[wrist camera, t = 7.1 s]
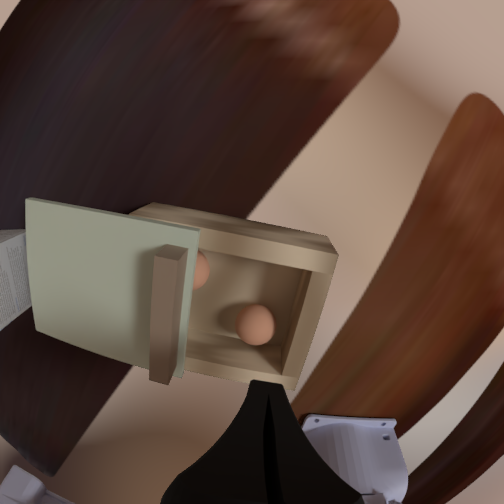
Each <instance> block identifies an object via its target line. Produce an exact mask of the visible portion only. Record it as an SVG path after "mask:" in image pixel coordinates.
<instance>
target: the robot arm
mask: <svg viewBox="0 0 504 504" xmlns="http://www.w3.org/2000/svg"><path fill="white" fill-rule="evenodd" d="M315 419H317V420H315ZM395 425H396V420H395V419H380V418H354V417H338V416H325V415H315V414H310V415H308V416H306V418H305V420H304V422H303V424H302V427H301V426H300V424H299V423H298V421H297V418H296V416H295V414H294V412H293V410H292V408H291V405H290V403H289V401H288V398H287V395H286V393H285V390H284V386H283V385H282V384H279V383H273V382H267V381H261V380H255V379H253V380H251V381H250V385H249V388H248V392H247V396H246V398H245V400H244V402H243V404H242V406H241V408H240V410H239V412H238V414H237V415H236V417H235V418H234V420H233V421H232V423H231V424H230V426H229V427H228V428H227V430H226V431H225V432H224V434H223V435H222V436H221V437H220V438H219V439H218V441H217V442H216V443H215V444H214V445H213V446H212V447H211V448H210V449H209V450H208V451H207V452H206V453H205V454H204V455H203V456H202V457H201V458H199V459H198V460H197V461H196V462H195V463H194V464H193V465H191V466H190V467H188V468H187V469H186V470H184V471H183V472H182V473H180V474H179V475H178V476H177V477H176V478H175V479H174V481H173V482H172V483H171V485H170V486H169V487H168V488H167V490H166V491H165V493H164V495H163V497H162V499H161V503H160V504H402V503H401V501H402V500H403V498H404V496H405V494H406V491H407V485H408V472H407V468H406V464H405V461H404V458H403V455H402V452H401V449H400V446H399V443H398V440H397V437H396V434H395V431H394V429H393V428H394V426H395ZM0 504H75V503H73V502H71V501H69V500H67V499H65V498H63V497H60V496H59V495H57V494H55V493H53V492H51V491H49V490H47V489H46V487H45V485H44V484H43V483H42V481H41V480H39V479H38V478H37V477H35V476H33V475H32V474H30V473H28V472H27V471H25V470H23V469H21V468H20V467H18V466H17V465H13V467H12V468H11V470H10V471H9V473H8V474H7V476H6V477H5V479H4V480H3V482H2V484H1V485H0Z"/></svg>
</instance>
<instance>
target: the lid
mask: <svg viewBox="0 0 504 504" xmlns="http://www.w3.org/2000/svg"><path fill="white" fill-rule="evenodd" d="M200 231H201V229H199V228H194V227H189V226H183V225H178V224H173V223H168V222H163V221H157V220H152V219H147V218H141V217H136V216H131V215H125V214H120V213H115V212H109V211H104V210H98V209H93V208H87V207H82V206H76V205H71V204H65V203H60V202H54V201H48V200H43V199H37V198H28V199H26V248H27V263H28V275H29V285H30V293H31V301H32V308H33V315H34V321H35V327H36V330H37V331H39V332H42V333H44V334H47V335H49V336H52V337H54V338H57V339H59V340H62V341H64V342H67V343H69V344H72V345H75V346H78V347H80V348H83V349H86V350H89V351H91V352H94V353H97V354H100V355H103V356H106V357H109V358H112V359H115V360H119V361H122V362H125V363H128V364H132V365H135V366H138V367H142V368H145V369H149V380H151V381H155V382H158V383H162V384H166V385H169V382H170V380H171V378H172V376H175V377H179V378H182V376H183V373H184V364H185V354H186V344H187V334H188V325H189V316H190V307H191V299H192V290H193V282H194V275H195V267H196V260H197V252H198V245H199V238H200Z"/></svg>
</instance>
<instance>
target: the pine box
mask: <svg viewBox="0 0 504 504" xmlns="http://www.w3.org/2000/svg"><path fill="white" fill-rule="evenodd" d="M129 215H131V216H136V217H141V218H147V219H152V220H157V221H163V222H168V223H173V224H178V225H183V226H189V227H194V228H199V229H201V231H200V238H199V245H198V250H199V251H200V252H202V253H203V254H204V255H205V257H206V258H207V260H208V262H209V266H210V273H209V277H208V279H207V281H206V283H205V284H204V285H203V286H202V287H200V288H199V289H197V290H194V291H192V299H191V307H190V316H189V325H188V334H187V344H186V354H185V364H184V370H187V371H192V372H196V373H200V374H204V375H209V376H213V377H218V378H223V379H228V380H233V381H238V382H244V383H249V384H250V381H251V380H253V379H255V380H261V381H267V382H273V383H279V384H282V385H283V386H284V389H286V390H295V388H296V385H297V382H298V380H299V377H300V374H301V371H302V369H303V366H304V363H305V360H306V357H307V354H308V352H309V348H310V346H311V343H312V340H313V337H314V334H315V331H316V328H317V325H318V322H319V319H320V315H321V312H322V309H323V306H324V303H325V299H326V296H327V293H328V290H329V286H330V283H331V279H332V277H333V273H334V269H335V266H336V262H337V259H338V256H339V255H338V253H337V251H336V250H335V248H334V247H333V245H332V243H331V242H330V240H329V238H328V237H327V236H324V235H319V234H315V233H310V232H305V231H300V230H295V229H291V228H286V227H281V226H276V225H271V224H266V223H261V222H256V221H251V220H246V219H241V218H236V217H231V216H226V215H220V214H215V213H210V212H205V211H199V210H194V209H188V208H183V207H177V206H172V205H166V204H160V203H155V202H153V203H150V204H148V205H146V206H144V207H142V208H140V209H138V210H136V211H134V212H131V213H129ZM253 304H259V305H263V306H265V307H267V308H268V309H270V310H271V311H272V313H273V314H274V316H275V318H276V323H277V326H276V331H275V334H274V336H273V337H272V338H271V339H270V340H269V341H268V342H266V343H264V344H262V345H250V344H247V343H245V342H244V341H242V340H241V339H240V338H239V336H238V335H237V333H236V329H235V320H236V317H237V315H238V313H239V312H240V311H241V310H242V309H243V308H245V307H246V306H249V305H253Z"/></svg>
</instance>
